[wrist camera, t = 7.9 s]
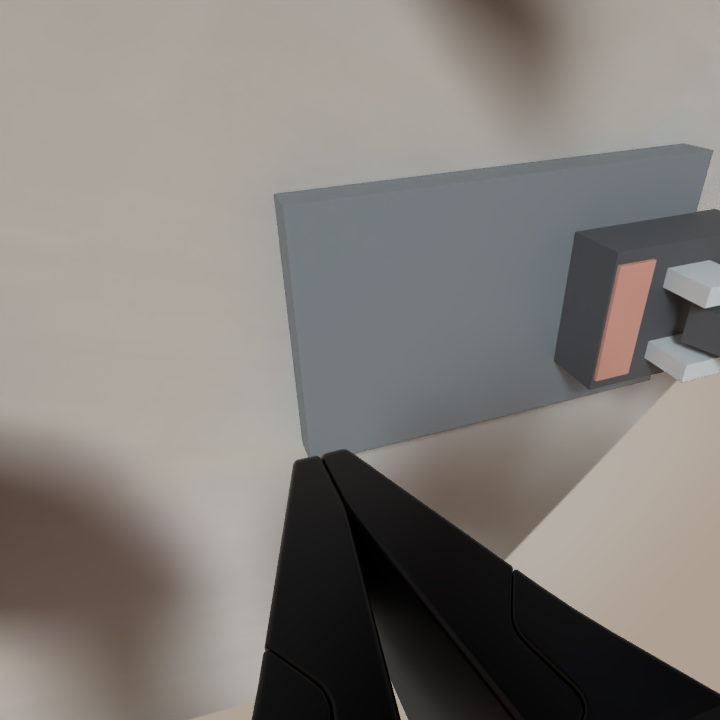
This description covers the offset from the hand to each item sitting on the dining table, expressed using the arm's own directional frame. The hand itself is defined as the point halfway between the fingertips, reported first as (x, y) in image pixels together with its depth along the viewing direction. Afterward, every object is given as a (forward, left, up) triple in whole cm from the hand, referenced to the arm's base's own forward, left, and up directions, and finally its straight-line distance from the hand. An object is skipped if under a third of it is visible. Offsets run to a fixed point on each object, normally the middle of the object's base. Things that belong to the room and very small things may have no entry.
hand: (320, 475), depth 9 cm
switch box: (+9, -7, -13) cm, 18 cm away
